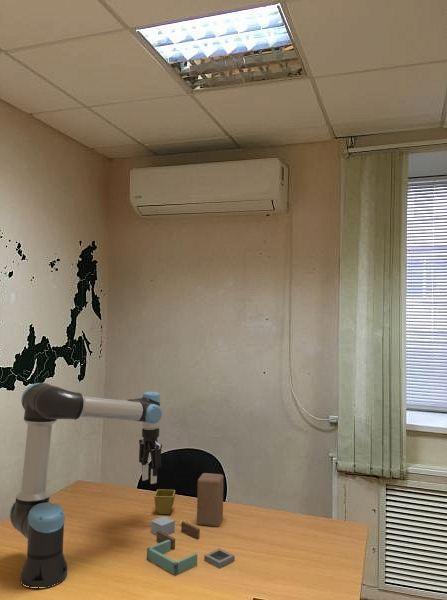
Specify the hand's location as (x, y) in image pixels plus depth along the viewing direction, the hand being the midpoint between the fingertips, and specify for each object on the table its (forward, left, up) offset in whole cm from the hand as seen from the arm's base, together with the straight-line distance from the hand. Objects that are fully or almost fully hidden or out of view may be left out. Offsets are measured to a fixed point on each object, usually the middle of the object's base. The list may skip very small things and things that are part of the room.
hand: (149, 481), depth 212 cm
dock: (-14, -32, -19) cm, 39 cm away
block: (0, -10, -19) cm, 21 cm away
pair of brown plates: (0, -20, -19) cm, 27 cm away
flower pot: (+14, +6, -19) cm, 24 cm away
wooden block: (+22, -16, -19) cm, 33 cm away
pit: (0, -43, -19) cm, 47 cm away
